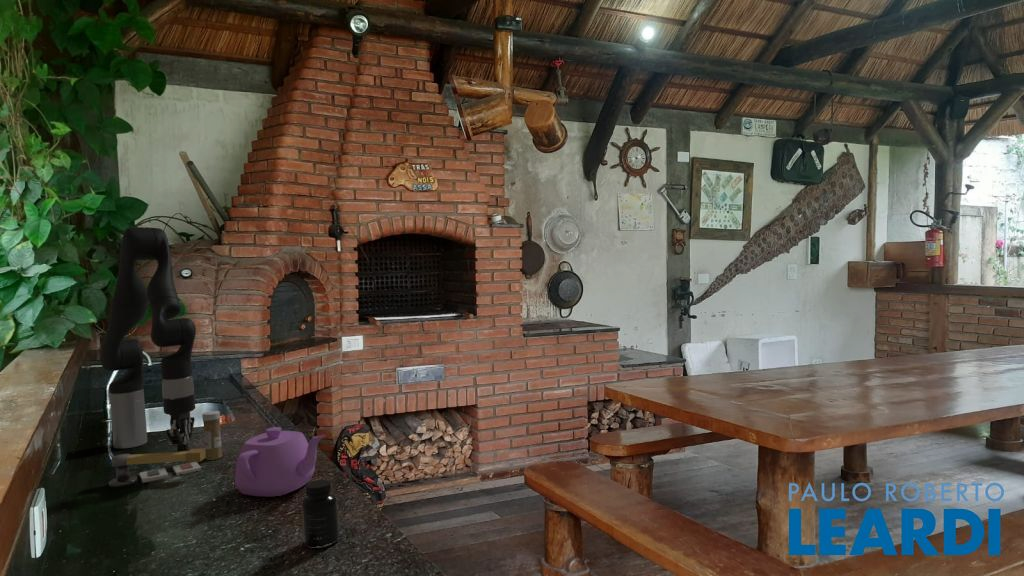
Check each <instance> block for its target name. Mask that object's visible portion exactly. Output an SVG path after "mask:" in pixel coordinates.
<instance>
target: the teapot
mask: <svg viewBox="0 0 1024 576" xmlns="http://www.w3.org/2000/svg"><path fill="white" fill-rule="evenodd" d="M264 431H265V432H264V433H261V434H258V435H256V436H253V437H251V438H249V439H247V440H246V441H245V442H244V443H243V445H242V447H241V449H240V453H239V455H238V456H237V457H236V466H235V472H234V483H235V487H236V488H237V489H238V491H239V492H240V493H241V494H242V495H246V496H254V497H264V498H265V497H267V498H268V497H272V498H273V497H275V496H280V497H283V496H282V495H284V496H285V494H286V495H287V494H289V493H292V492H295V491H296V490H298V489H300V488H303V486H306V485H307V484H308V483H309V482H310V481H311V479H312V478H313V476H314V473H315V469H316V463H317V456H318V454H317V453H318V450H317V449H318V444H319V442H320V441H321V440H322V439H323V438H325V437H326V435H325V434H322V435H317V436H316V435H315V436H313V437H312V438H311V439H310V440H309V442H308V440H307V438H306V437H305V435H304V433H303V432H301V431H295V430H282V427H278V426H273V427H269V428H266V429H265V430H264ZM275 498H276V497H275Z"/></svg>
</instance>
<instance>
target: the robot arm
mask: <svg viewBox="0 0 1024 576" xmlns="http://www.w3.org/2000/svg"><path fill="white" fill-rule="evenodd" d="M119 251H120V253H119V262H118V263H119V264H118V271H117V278H116V283H115V288H114V291H113V296H112V301H111V307H110V312H109V313H110V314H109V321H108V323H107V324H108V325H107V328H106V332H105V336H104V339H103V341H102V345H101V349H100V356H99V357H100V360H99V361H100V364H101V366H102V368H103V369H104V370H105V371H107V372H117V371H122V370H123V371H124V370H127V371H126V373H125V374H124V375H122V376H121V377H120V378H117V379H116V380H113V381H112V382H111V383H110V384H108V385H109V386H108V390H109V403H110V413H111V414H110V417H111V428H112V442H113V443H112V444H113V448H114V449H130V448H136V447H140V446H143V445H145V444H147V443H148V433H147V432H148V431H147V417H146V416H147V415H146V405H145V391H144V377H145V376H144V352H143V346H142V343H141V342H140V340H139V339H137V338H128V339H124V338H125V336H127V334H128V333H129V332H130V331H131V330H132V329H134V328H135V327H136V326H137V325H138V324H139V323H140V322H141V321H142V320H143V319H144V317H145V315H146V313H147V310H148V306H149V307H150V311H151V315H152V316H151V328H150V329H151V330H150V339H151V342H152V343H153V344H154V345H155V346H156V347H159V348H168V347H175V346H179V348H178V350H177V351H175V352H174V353H171V354H168V355H166V356H163V357H162V358H161V361H160V367H161V368H160V369H161V380H162V381H161V394H162V406H163V413H164V414H166V415H169V416H170V420H169V426H170V428H169V429H168V428H167V429H166V431H165V432H166V435H167V437H168V439H169V441H170V442H171V444H172V445H173V446H177V447H176V449H177V452H182V451H189V442H190V439H192V435H193V430H194V425H195V417H193V416H191V412H193V411H194V410H195V409H196V400H195V399H196V397H195V388H194V385H195V384H194V380H193V374H192V360H191V359H192V352H193V347H194V343H195V339H196V335H197V328H196V324H195V323H194V321H193V320H192V319H191V318H188V317H183V318H182V317H181V318H175V317H177V316H179V315H180V313H181V311H182V306H181V303H180V299H179V296H178V292H177V290H176V286H175V282H174V281H175V280H174V273H173V265H172V255H171V250H170V243H169V239H168V237H167V233H166V232H165V230H164V229H162V228H159V227H141V226H140V227H138V226H132V227H127V228H125V230H124V231H123V234H122V237H121V245H120V250H119ZM146 260H147V261H157V267H156V269H155V272H154V273H153V275H152V277H151V279H150V280H149V282H148V284H147V285H146V284H145V282H144V281H143V280H142V278H141V277H140V276H139V274H138V272H137V270H136V268H135V263H136V261H146Z"/></svg>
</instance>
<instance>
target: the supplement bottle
mask: <svg viewBox="0 0 1024 576" xmlns="http://www.w3.org/2000/svg"><path fill="white" fill-rule="evenodd" d="M331 483H332V482H331V481H330V480H329V479H315V480H312V481H308V482H307V483H306V484H305V496H306V497H305V498H304V499H303V500H302V502H301V514H302V515H301V516H302V528H303V529H302V530H303V543H304V545H305V546H306V547H307V546H309V547H316V546H323V545H326V544H329V543H332V542H334V541H336V540H337V539H338V538H339V539H340V537H339V536H340V523H339V509H338V507H339V506H338V498H337V496H336V495H335V494H334V493H333V492H332V491H333V489H332V484H331Z"/></svg>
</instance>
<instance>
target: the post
mask: <svg viewBox="0 0 1024 576" xmlns="http://www.w3.org/2000/svg"><path fill="white" fill-rule="evenodd" d="M129 469H130V468H129V465H126V466H121V467H115V472H116V477H115V478H113V479H111V480H109V482H108V487H110V488H123V487H128V486H131V485H134V484H135V483H138V476H137V475H130V472H129V471H130V470H129ZM127 485H128V486H127Z"/></svg>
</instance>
